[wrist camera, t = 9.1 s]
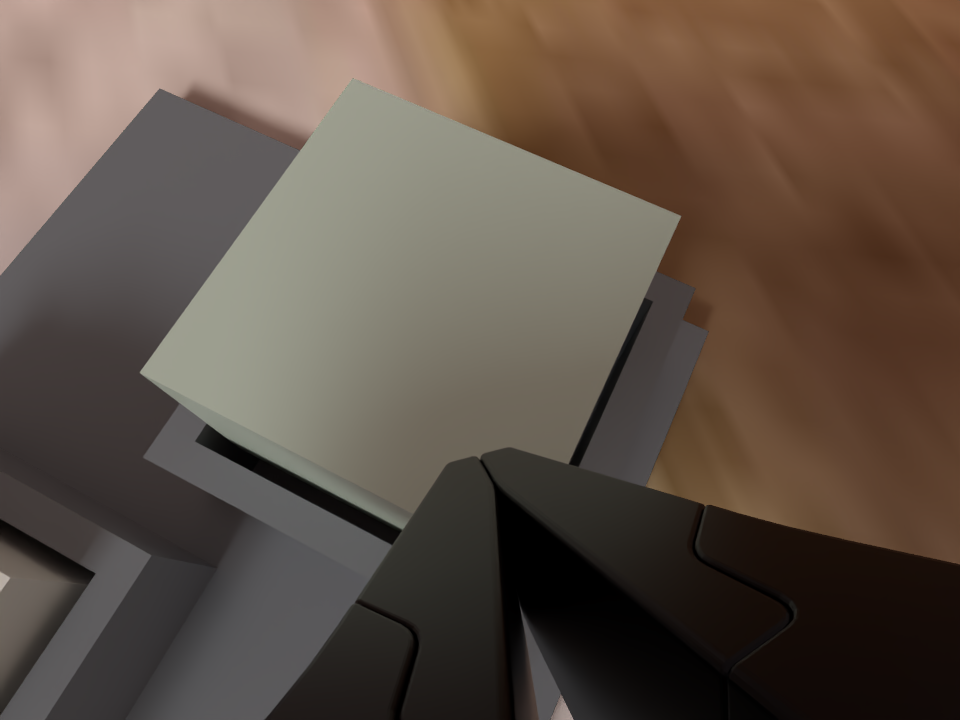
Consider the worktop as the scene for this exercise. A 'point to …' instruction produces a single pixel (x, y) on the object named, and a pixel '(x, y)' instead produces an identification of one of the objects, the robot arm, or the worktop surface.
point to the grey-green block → (412, 306)
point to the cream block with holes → (31, 602)
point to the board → (207, 445)
